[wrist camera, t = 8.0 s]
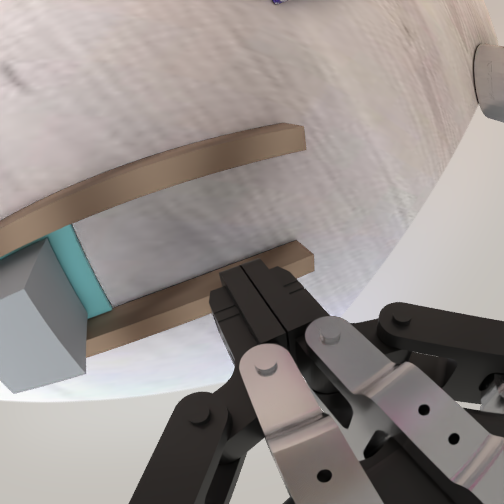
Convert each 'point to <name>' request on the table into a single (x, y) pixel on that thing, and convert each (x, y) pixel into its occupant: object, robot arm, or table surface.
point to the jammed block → (39, 321)
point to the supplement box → (278, 1)
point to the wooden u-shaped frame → (134, 186)
